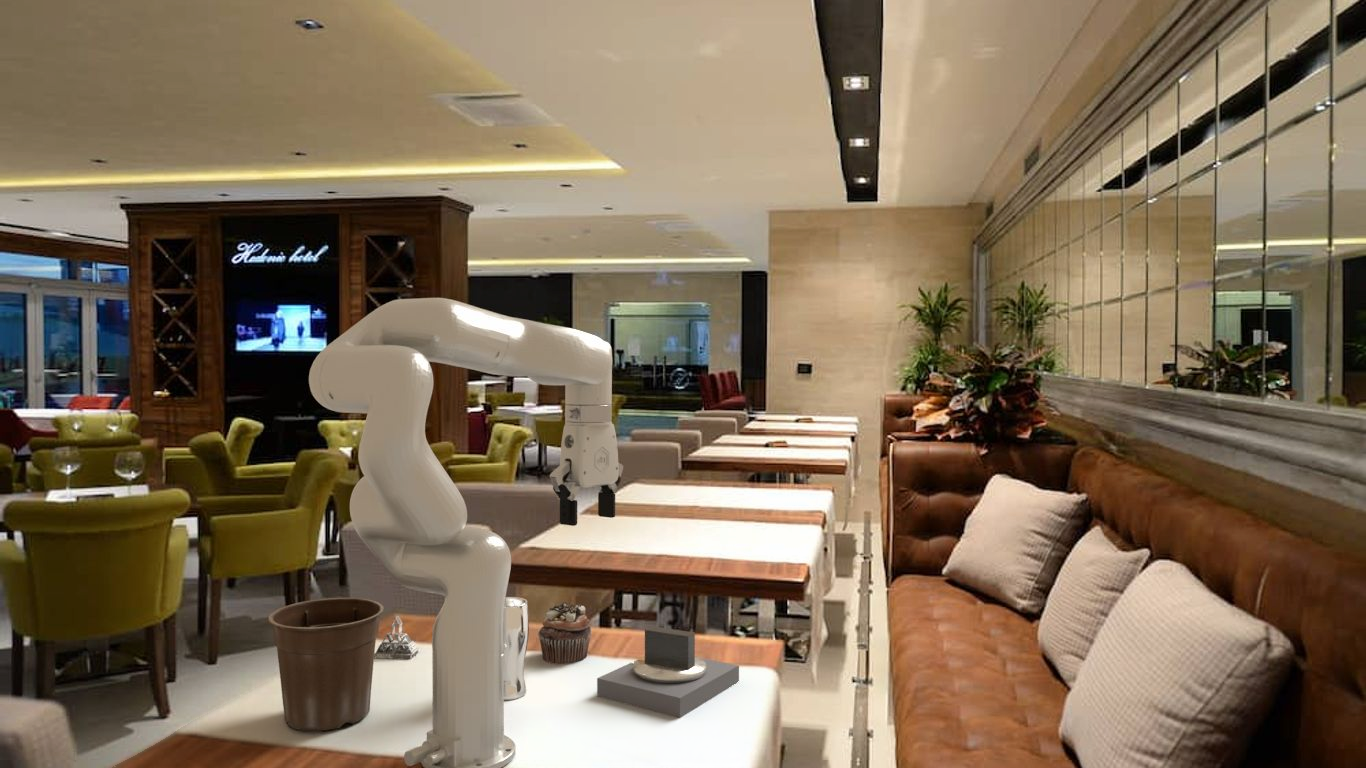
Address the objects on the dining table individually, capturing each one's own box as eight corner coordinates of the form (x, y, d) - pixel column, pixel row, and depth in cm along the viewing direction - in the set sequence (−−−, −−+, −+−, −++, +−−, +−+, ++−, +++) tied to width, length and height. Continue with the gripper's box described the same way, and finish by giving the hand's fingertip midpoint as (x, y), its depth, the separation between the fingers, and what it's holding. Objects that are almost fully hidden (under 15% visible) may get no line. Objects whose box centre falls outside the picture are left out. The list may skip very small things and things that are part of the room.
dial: (717, 665, 154) (717, 626, 154) (686, 687, 143) (686, 646, 143) (654, 655, 159) (654, 617, 159) (619, 675, 149) (619, 635, 149)
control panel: (680, 717, 140) (680, 696, 139) (597, 696, 148) (597, 676, 148) (738, 683, 155) (739, 664, 155) (660, 666, 163) (660, 648, 163)
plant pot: (376, 733, 133) (376, 623, 133) (257, 742, 130) (256, 629, 130) (389, 694, 149) (388, 595, 149) (283, 701, 146) (282, 600, 146)
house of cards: (438, 647, 175) (437, 607, 175) (420, 662, 166) (419, 620, 166) (393, 646, 176) (392, 606, 176) (372, 661, 167) (371, 619, 167)
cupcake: (596, 651, 172) (596, 598, 171) (583, 668, 162) (583, 611, 162) (547, 649, 173) (547, 596, 173) (531, 665, 164) (531, 609, 163)
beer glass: (519, 703, 145) (519, 608, 145) (478, 700, 147) (477, 606, 146) (535, 687, 152) (534, 597, 152) (495, 685, 154) (495, 595, 153)
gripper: (571, 418, 141) (570, 530, 141) (638, 414, 155) (638, 516, 155) (534, 417, 145) (534, 525, 145) (603, 413, 159) (603, 512, 159)
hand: (588, 520), depth 150 cm, fingers open, 9 cm apart
